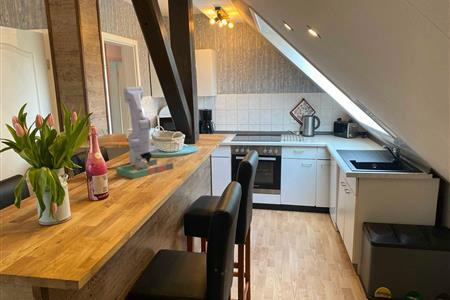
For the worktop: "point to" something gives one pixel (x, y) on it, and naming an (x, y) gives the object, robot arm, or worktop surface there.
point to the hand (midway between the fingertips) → (146, 166)
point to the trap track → (128, 173)
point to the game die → (141, 164)
